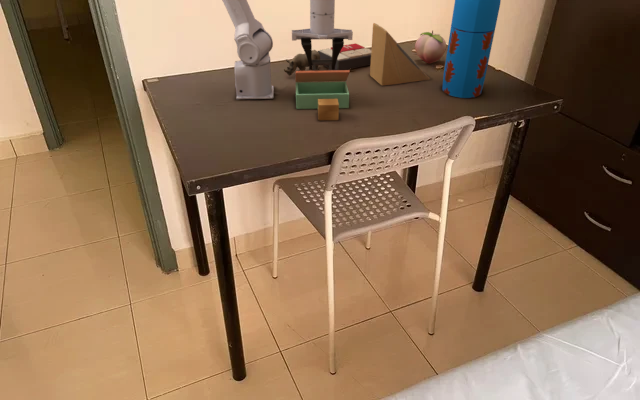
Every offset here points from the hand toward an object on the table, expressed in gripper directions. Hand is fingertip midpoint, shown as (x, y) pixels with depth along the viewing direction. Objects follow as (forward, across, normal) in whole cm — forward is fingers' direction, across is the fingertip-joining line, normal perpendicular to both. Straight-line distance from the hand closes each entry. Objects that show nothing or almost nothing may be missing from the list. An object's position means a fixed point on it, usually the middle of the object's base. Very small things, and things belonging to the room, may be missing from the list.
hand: (321, 68), depth 126 cm
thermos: (+9, +38, +6) cm, 40 cm away
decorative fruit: (+9, +34, +27) cm, 44 cm away
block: (+9, +1, -10) cm, 13 cm away
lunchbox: (+9, 0, 0) cm, 9 cm away
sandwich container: (+9, +24, +16) cm, 30 cm away
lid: (+2, 0, 0) cm, 2 cm away
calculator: (+9, +9, +28) cm, 30 cm away
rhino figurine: (+9, -4, +20) cm, 22 cm away
